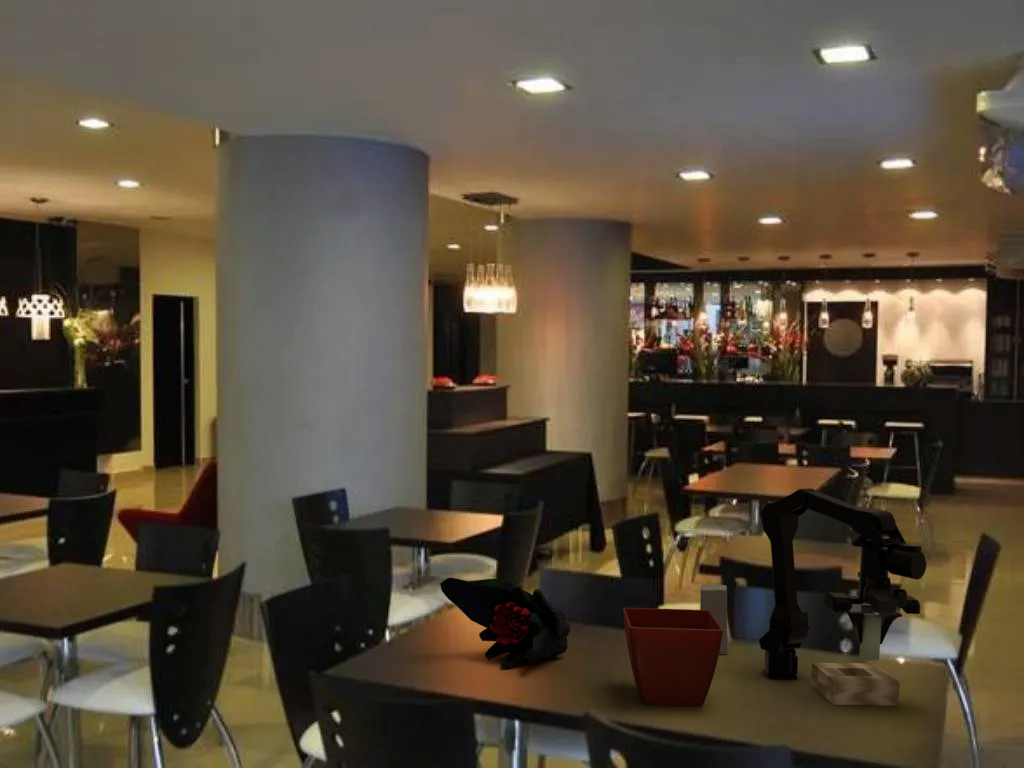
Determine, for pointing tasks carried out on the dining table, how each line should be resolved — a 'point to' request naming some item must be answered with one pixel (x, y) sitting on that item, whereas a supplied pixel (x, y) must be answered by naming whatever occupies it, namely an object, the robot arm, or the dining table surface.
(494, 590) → the decorative plant
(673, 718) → the dining table surface
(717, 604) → the skincare box
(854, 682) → the socket block
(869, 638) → the sage peg
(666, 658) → the plant pot
